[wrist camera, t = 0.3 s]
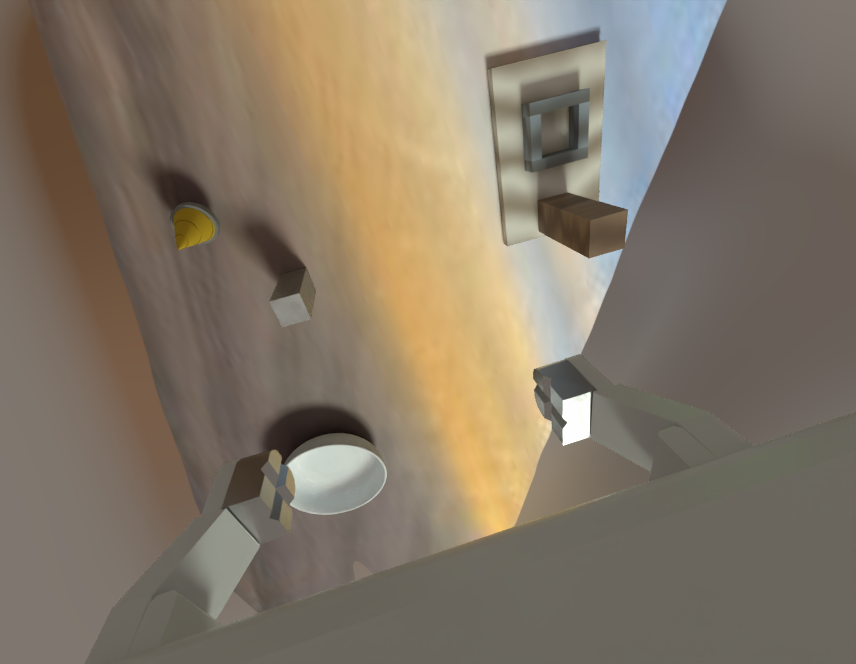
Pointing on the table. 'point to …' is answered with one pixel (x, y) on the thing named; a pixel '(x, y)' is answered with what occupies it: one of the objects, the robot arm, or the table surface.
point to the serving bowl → (335, 473)
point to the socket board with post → (554, 150)
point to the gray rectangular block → (293, 297)
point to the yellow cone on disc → (193, 224)
